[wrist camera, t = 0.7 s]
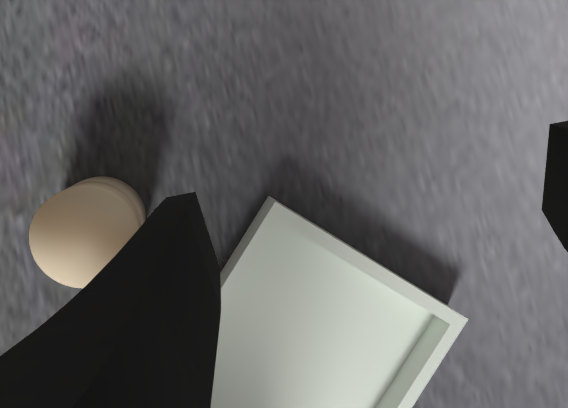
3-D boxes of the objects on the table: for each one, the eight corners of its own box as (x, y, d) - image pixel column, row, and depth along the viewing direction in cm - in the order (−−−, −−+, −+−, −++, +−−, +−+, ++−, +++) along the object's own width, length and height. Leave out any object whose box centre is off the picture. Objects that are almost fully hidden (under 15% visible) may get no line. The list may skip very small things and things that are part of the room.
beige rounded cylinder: (119, 273, 30) (103, 305, 24) (42, 232, 29) (8, 257, 23) (161, 203, 30) (155, 221, 24) (86, 160, 29) (63, 168, 23)
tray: (301, 535, 34) (309, 566, 32) (110, 450, 31) (103, 477, 29) (447, 305, 34) (468, 319, 31) (268, 195, 31) (275, 201, 28)
